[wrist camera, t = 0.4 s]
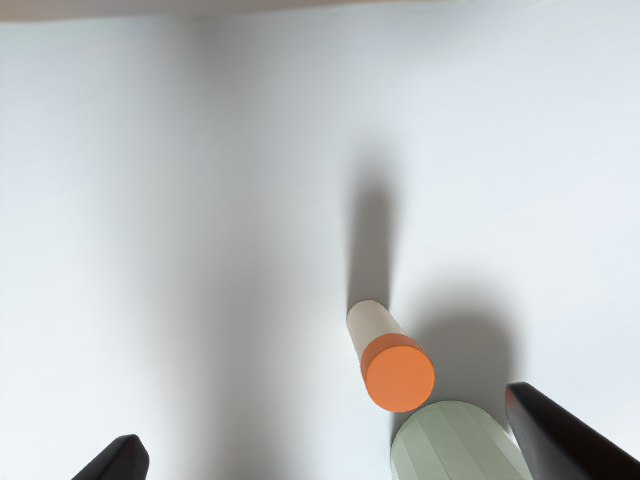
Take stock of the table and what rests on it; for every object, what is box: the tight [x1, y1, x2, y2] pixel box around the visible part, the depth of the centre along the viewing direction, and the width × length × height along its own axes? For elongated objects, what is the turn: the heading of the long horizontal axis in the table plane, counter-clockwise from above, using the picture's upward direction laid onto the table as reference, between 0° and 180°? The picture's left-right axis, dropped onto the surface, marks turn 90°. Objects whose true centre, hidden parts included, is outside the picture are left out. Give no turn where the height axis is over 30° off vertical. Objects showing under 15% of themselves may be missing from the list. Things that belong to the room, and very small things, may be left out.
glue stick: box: [347, 300, 435, 412], centre depth 19 cm, size 3×3×8 cm
